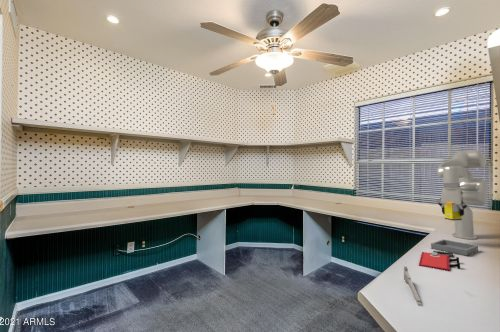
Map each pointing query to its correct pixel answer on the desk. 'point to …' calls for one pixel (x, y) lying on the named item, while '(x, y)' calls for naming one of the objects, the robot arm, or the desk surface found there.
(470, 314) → the desk surface
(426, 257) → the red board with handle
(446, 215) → the supplement box
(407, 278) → the caliper
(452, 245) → the tray
